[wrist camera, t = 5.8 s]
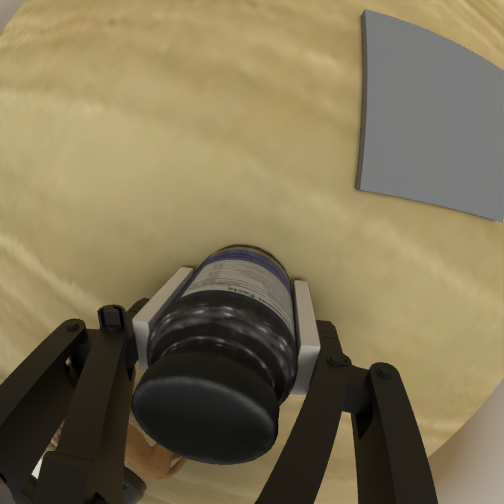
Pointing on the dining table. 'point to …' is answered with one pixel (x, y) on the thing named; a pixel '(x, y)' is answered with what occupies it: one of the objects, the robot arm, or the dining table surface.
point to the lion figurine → (144, 455)
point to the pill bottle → (221, 360)
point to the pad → (430, 119)
